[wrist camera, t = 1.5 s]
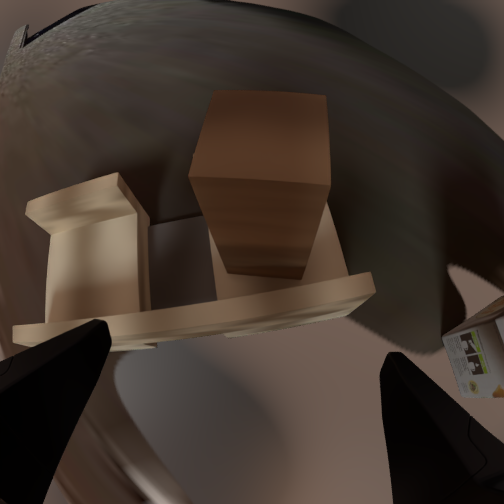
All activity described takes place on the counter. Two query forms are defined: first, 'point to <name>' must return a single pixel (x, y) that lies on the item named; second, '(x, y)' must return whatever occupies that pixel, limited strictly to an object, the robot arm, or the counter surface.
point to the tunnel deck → (170, 275)
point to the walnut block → (263, 178)
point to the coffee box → (479, 352)
